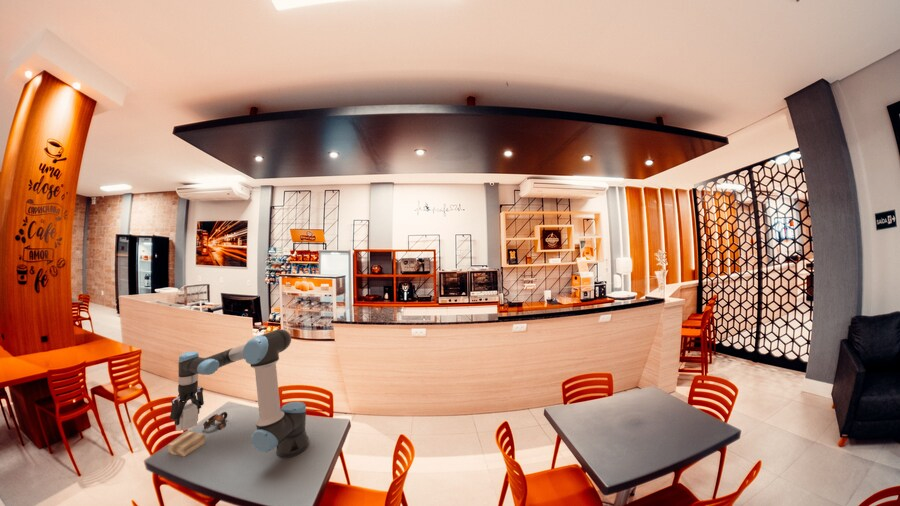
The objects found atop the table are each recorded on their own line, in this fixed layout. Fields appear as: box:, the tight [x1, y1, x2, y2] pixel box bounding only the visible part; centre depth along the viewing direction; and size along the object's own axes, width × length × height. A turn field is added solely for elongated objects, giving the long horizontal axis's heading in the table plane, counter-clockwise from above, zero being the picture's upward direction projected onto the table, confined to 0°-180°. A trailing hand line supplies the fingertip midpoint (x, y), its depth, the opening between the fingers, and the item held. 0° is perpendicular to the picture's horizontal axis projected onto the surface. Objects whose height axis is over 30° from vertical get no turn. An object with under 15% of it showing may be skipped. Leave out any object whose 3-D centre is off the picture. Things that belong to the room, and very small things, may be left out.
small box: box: [181, 401, 198, 432], centre depth 145 cm, size 8×6×10 cm
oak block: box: [167, 431, 206, 457], centre depth 145 cm, size 10×10×5 cm
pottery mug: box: [202, 411, 228, 430], centre depth 163 cm, size 12×10×8 cm
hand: (187, 425), depth 145 cm, fingers closed on small box, 7 cm apart
